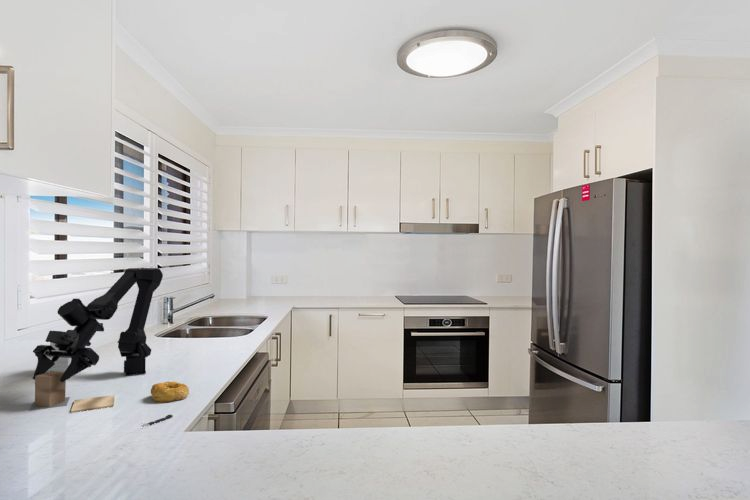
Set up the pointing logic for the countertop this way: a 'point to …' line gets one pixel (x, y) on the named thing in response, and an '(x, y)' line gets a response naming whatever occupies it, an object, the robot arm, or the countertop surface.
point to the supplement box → (60, 362)
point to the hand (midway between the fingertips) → (47, 380)
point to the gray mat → (49, 407)
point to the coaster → (93, 403)
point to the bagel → (169, 391)
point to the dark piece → (157, 420)
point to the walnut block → (49, 389)
